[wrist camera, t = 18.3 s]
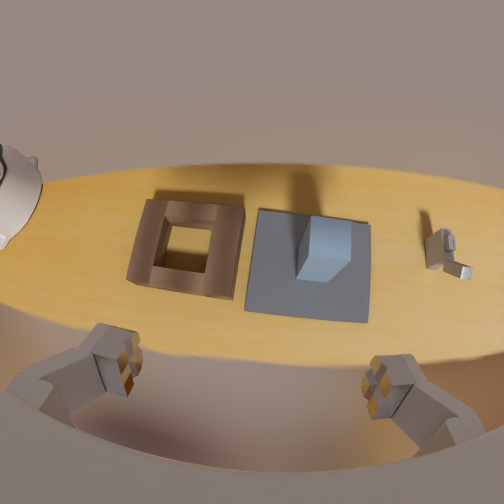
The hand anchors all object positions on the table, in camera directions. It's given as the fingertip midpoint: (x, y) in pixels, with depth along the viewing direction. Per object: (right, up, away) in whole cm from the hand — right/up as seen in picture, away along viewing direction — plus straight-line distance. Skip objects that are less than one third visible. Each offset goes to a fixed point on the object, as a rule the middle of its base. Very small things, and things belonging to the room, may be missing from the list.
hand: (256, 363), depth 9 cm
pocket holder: (-8, +4, +24) cm, 26 cm away
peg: (+7, +2, +23) cm, 24 cm away
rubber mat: (+7, +2, +23) cm, 24 cm away
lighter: (+23, +2, +23) cm, 33 cm away
